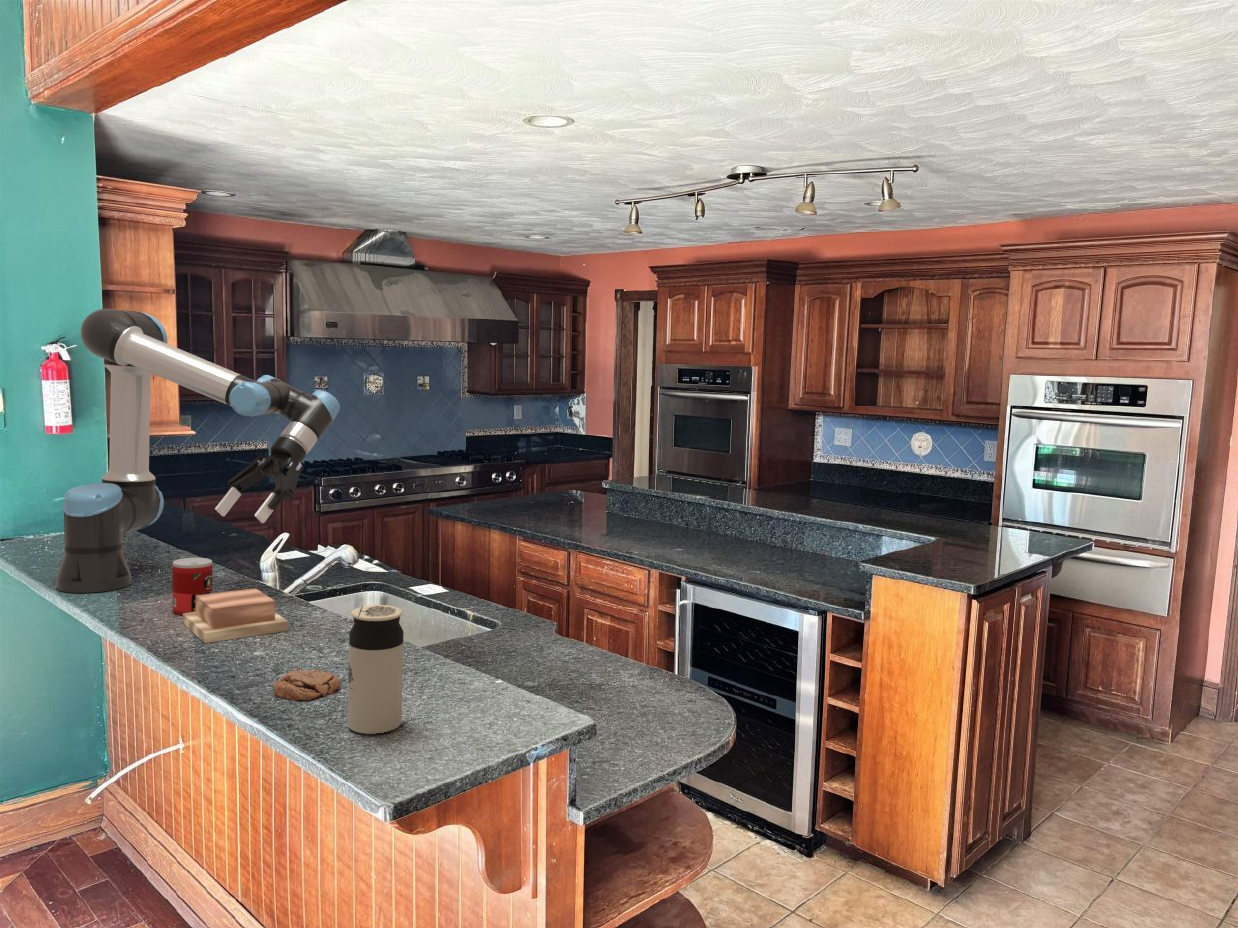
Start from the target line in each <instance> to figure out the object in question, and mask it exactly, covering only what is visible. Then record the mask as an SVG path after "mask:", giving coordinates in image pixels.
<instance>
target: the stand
mask: <svg viewBox="0 0 1238 928" xmlns="http://www.w3.org/2000/svg"><path fill="white" fill-rule="evenodd" d="M182 624H183V625H184V626H186V627H187V628H188V630H190V631H191V632H192V633H193V634H194V635H195V636H196V637H197V638H199V639H200V641H202V642H203V643H204V644H208V643H209V644H210V643H216V642H222V641H229V640H236V639H243V638H248V637H255V636H262V635H263V636H264V635H268V634H270V635H271V634H276V633H282V632H288V631H289V621H288V620H287V619H286V618H285V617H283V616H282V615H280V614H278V613H277V612H276V600H275V599H272V598H271V597H270V596H268V595H267V594H265V593H263V592H262V591H261V590H259V589H258V588H255V587H254V588H249V589H248V588H246V589H238V590H229V591H223V592H212V594H203V595H196V612H190V613H183V615H182Z"/></svg>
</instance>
